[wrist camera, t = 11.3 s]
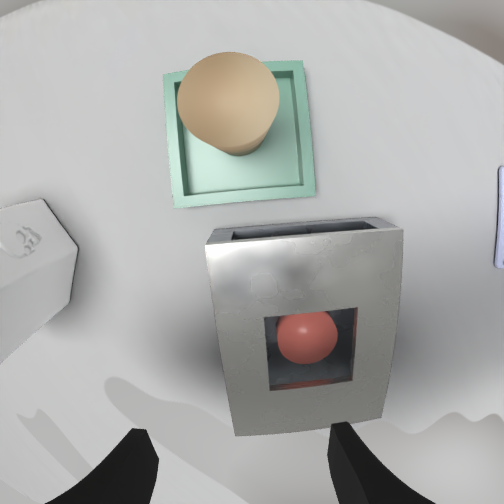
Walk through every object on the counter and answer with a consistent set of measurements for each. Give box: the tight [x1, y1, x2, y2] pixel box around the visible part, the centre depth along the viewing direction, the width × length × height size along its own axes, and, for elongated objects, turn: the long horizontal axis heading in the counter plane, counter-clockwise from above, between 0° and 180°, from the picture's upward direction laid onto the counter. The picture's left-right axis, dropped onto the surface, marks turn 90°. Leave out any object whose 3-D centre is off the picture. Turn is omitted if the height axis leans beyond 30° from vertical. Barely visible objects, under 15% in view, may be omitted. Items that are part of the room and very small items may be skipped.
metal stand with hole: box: [205, 217, 403, 436], centre depth 19 cm, size 10×13×4 cm
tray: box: [163, 61, 316, 209], centre depth 17 cm, size 8×8×2 cm
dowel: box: [177, 52, 280, 156], centre depth 13 cm, size 3×3×9 cm
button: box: [276, 311, 338, 364], centre depth 19 cm, size 4×4×1 cm
